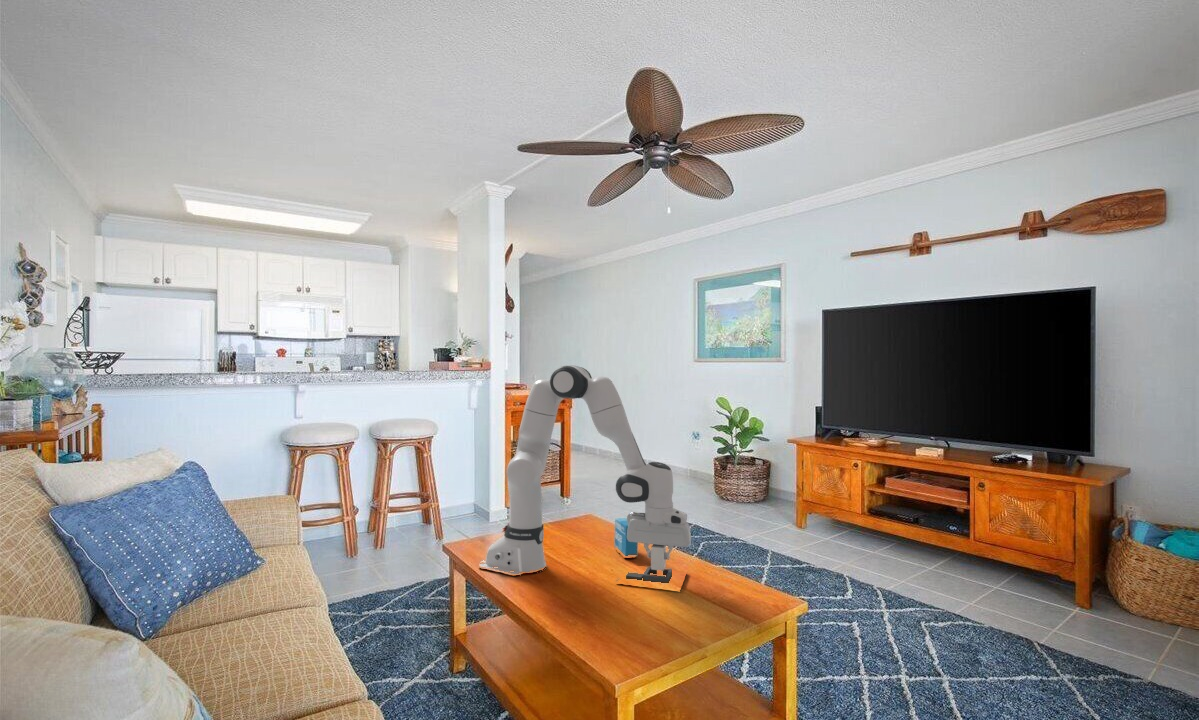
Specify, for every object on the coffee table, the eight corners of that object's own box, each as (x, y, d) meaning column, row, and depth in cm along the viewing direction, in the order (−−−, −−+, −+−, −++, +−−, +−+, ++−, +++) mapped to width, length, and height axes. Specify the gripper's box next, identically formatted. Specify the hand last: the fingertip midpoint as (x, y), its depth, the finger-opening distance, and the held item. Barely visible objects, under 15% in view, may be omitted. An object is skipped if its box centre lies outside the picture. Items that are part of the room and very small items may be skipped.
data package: (614, 549, 214) (614, 517, 214) (625, 548, 215) (626, 516, 216) (625, 560, 203) (626, 526, 203) (637, 559, 204) (638, 525, 204)
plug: (650, 569, 181) (651, 545, 181) (653, 564, 186) (653, 541, 186) (663, 570, 180) (663, 547, 180) (665, 566, 185) (666, 542, 185)
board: (616, 584, 180) (616, 574, 180) (628, 567, 195) (628, 558, 196) (680, 592, 175) (680, 581, 175) (687, 574, 190) (687, 564, 190)
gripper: (624, 514, 183) (624, 557, 182) (689, 519, 177) (689, 564, 177) (629, 509, 189) (628, 551, 189) (692, 514, 183) (691, 558, 183)
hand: (658, 558), depth 183 cm, fingers closed on plug, 4 cm apart
